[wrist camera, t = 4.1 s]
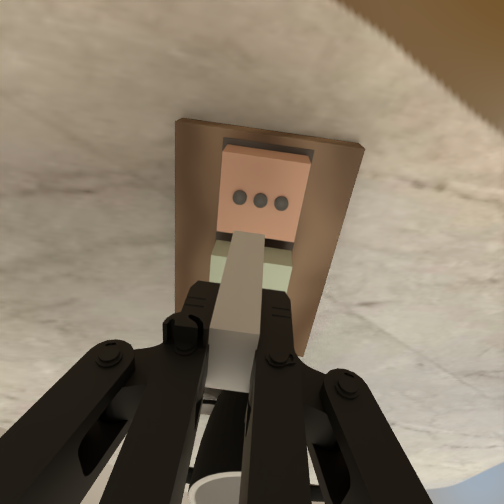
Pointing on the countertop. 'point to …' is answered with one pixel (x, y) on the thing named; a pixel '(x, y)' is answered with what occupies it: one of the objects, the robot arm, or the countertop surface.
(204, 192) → the board
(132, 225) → the countertop surface
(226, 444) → the mug
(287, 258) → the key
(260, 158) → the key
